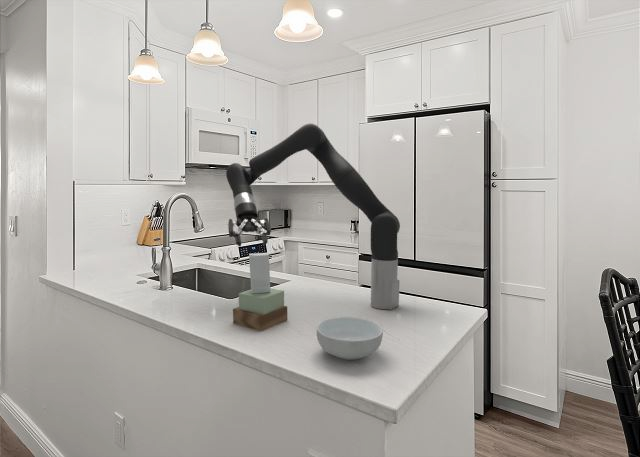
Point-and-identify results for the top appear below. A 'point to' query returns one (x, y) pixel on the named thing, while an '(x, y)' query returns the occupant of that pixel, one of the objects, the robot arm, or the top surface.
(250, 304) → the tower top
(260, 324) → the tower base
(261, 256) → the skincare box
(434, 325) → the top surface
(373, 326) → the cereal bowl
